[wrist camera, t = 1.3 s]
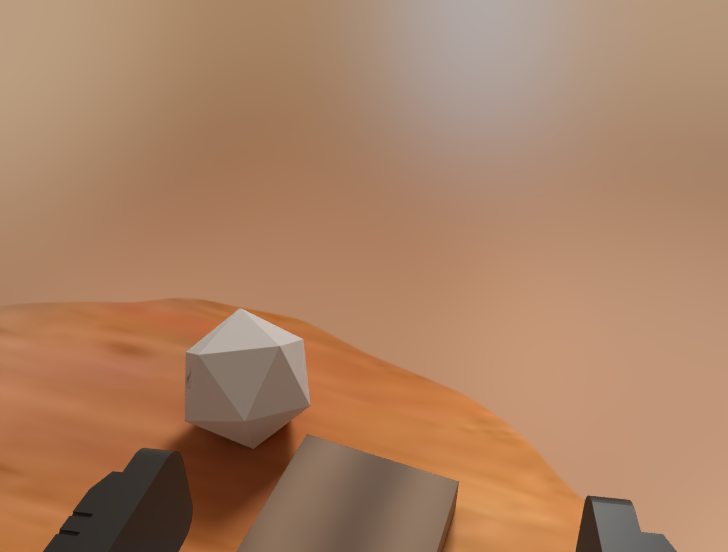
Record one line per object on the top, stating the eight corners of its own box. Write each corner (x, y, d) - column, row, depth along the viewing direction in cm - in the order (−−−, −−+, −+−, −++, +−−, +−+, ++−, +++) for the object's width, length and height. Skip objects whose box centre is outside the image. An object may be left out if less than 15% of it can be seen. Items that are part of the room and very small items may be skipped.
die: (239, 367, 49) (149, 322, 42) (329, 329, 46) (250, 274, 39) (243, 468, 44) (143, 438, 37) (343, 433, 42) (257, 393, 34)
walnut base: (230, 604, 33) (222, 575, 32) (309, 463, 41) (306, 434, 39) (403, 679, 30) (405, 650, 29) (455, 511, 38) (458, 481, 36)
